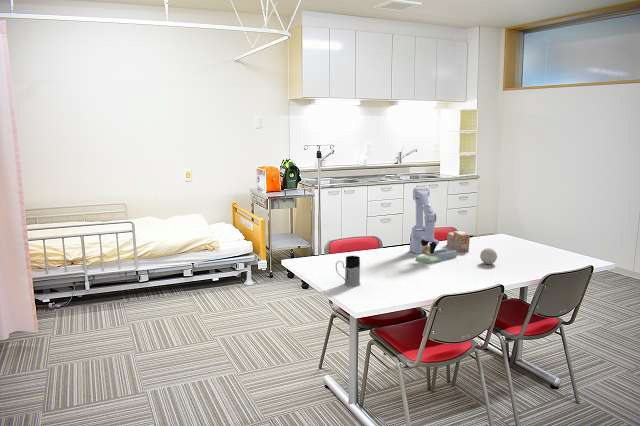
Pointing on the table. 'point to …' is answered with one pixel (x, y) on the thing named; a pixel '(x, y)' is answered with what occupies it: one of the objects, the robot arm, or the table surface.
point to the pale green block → (437, 256)
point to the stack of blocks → (458, 241)
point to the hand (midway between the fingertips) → (428, 252)
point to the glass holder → (351, 271)
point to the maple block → (426, 250)
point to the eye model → (488, 256)
